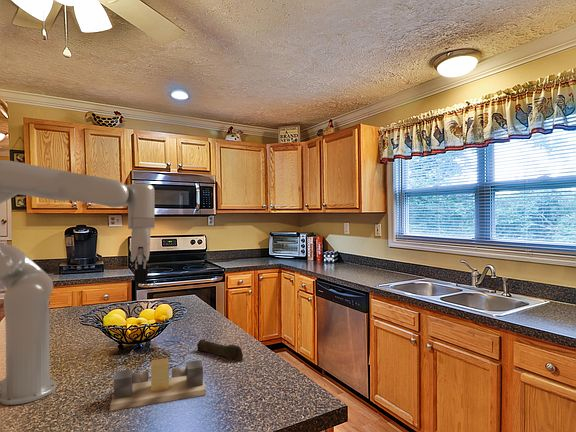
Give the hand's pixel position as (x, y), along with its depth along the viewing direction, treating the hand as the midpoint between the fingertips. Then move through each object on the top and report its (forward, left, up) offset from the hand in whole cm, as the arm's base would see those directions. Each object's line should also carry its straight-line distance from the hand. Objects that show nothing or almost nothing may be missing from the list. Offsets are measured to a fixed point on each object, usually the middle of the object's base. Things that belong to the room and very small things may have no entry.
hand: (141, 279), depth 108 cm
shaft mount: (+6, -16, -28) cm, 33 cm away
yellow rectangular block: (+5, -16, -27) cm, 32 cm away
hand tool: (+25, +5, -29) cm, 39 cm away
